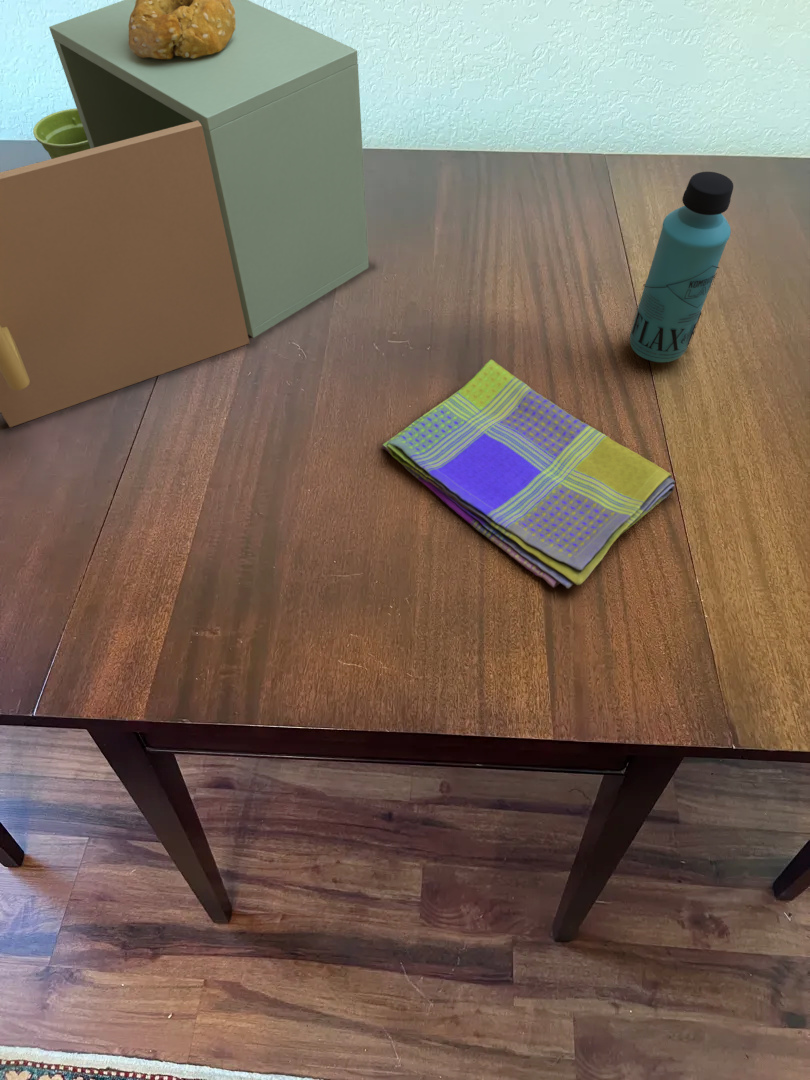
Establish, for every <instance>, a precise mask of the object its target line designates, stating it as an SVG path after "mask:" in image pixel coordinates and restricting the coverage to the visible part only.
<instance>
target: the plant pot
mask: <svg viewBox="0 0 810 1080" xmlns="http://www.w3.org/2000/svg"><path fill="white" fill-rule="evenodd" d="M32 133H33V136H34V139H35V140H36V141H37V142H38V143H40V144H41V145H42V147H43V149H44V150H45V151H46V152H47V153H48V155H49V157H50V159H54V158H57V157H61V156H65V155H69V154H73V153H76V152H80V151H84V150H88V149H91V148H90V145H89V142H88V139H87V136H86V134H85V131H84V128H83V125H82V122H81V119H80V116H79V113H78V110H77V107H76V108H69V109H64V110H59V111H56V112H53V113H51V114H48V115H46V116H44V117H43V118H41V119H40V120H39V121H37V122H36V123H35V125H34V127H33V129H32Z"/></svg>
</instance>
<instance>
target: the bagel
mask: <svg viewBox="0 0 810 1080" xmlns="http://www.w3.org/2000/svg"><path fill="white" fill-rule="evenodd" d="M235 24H236V22H235V9H234V7H233V5H232V4H231V1H230V0H136V2H135V7H134V10H133V12H132V13H131V15H130V20H129V25H128V27H129V47H130V49H131V51H132V52H133V53H134V54H135V55H137V56H139V57H140V58H149V57H151V58H154V59H172V58H173V57H174V55H175V56H180V57H181V56H182V57H183V58H188V57H189V58H198V57H200V56H204V55H209V54H214V53H216V52H220V51H221V50H222V49H223V48H225V46H226V44H227V43H228V42H229V40H230V39H231V38H232V35H233V32H234V30H235V28H236V26H235Z"/></svg>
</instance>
